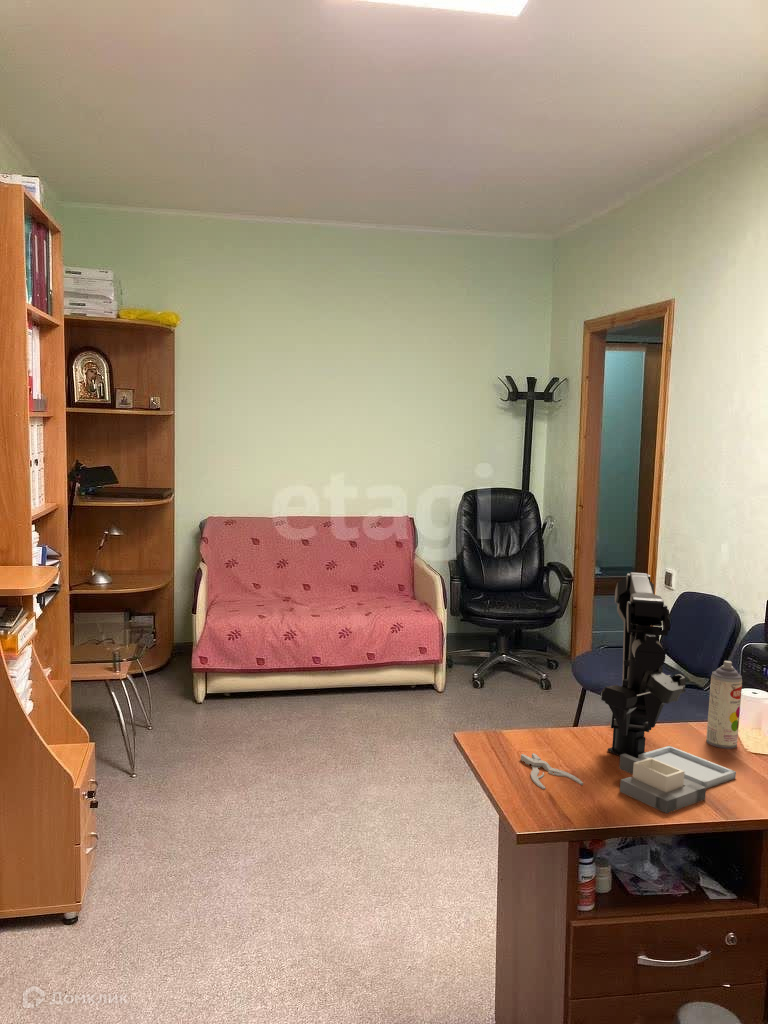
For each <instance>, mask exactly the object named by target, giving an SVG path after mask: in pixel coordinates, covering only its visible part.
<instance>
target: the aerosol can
mask: <svg viewBox="0 0 768 1024" xmlns="http://www.w3.org/2000/svg"><path fill="white" fill-rule="evenodd" d="M742 678H743V676H742V675H741V674H740V673H739V672H738V670H736V668H735V667H734V666H733V662H732V661H731V660H724V661H723V665H721V666H720V667H717V669H716V670H713V671H712V674H711V676H710V689H709V701H708V713H707V726H706V739H705V741H706V743H707V744H709V745H711V746H713V747H715V748H719V749H726V750H732V749H736V748H738V747H737V746H738V737H739V725H740V716H741V715H740V712H741V701H742V700H741V699H742V688H743V679H742Z"/></svg>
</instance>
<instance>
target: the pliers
mask: <svg viewBox="0 0 768 1024" xmlns="http://www.w3.org/2000/svg"><path fill="white" fill-rule="evenodd" d="M520 761H521V762H523V761H524V762H525V763H524V762H523V763H524V764H526V765H527V764H528V765H527V766H530V764H531V767H532V768H531V769H532V770H531V771H530V779H531V781H532V782H533V783H534V784H535V785H536V786H537V787H538V788H540V789H542V790H546V786H545V785H544V784H543V783H542V782H541V781H540V779H543V778H544V776H545V772H544V771H542V774H541V775H540V774H539V773H540V769H541V768H540V767H542V768H543V770H545V771H547V774H550V775H553V776H558V777H564V778H565V777H566V778H567V779H570V780H572V781H574V782H576V783H577V784H579V785H581V786H583V785H584V782H583V781H582V780H581V779H580V778H578V777H577V776H575V775H573V774H571V773H569V772H567V771H565V770H561V769H560V768H559V769H558V768H554V767H552V766H551V765H550V764H549V763H548V762H547V761H546V760H543V759H542V758H541V757H539V755H537V754H536V753H534V752H533V753H531V757H530V756H528V755H526V754H525V753H521V754H520ZM538 768H539V769H538ZM553 772H554V773H553Z"/></svg>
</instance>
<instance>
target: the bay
mask: <svg viewBox="0 0 768 1024" xmlns="http://www.w3.org/2000/svg"><path fill="white" fill-rule="evenodd" d="M619 785H620V786H619V793H622V794H624V795H626V796H628V797H631V798H632V799H634V800H636V801H638V802H641V803H643V804H646V805H647V806H649V807H652V808H654V809H656V810H658V811H660V812H662V813H664V812H665V813H664V814H666V813H667V814H669V812H670V813H672V812H674V810H675V811H678V810H680V809H683V808H686V807H688V805H689V806H691V805H693V804H696V803H697V804H698V802H702V801H705V800H706V794H707V793H706V791H707V789H706V787H704V786H701V785H699V784H697V783H694V782H692V781H690V780H687V779H685V778H684V785H683V787H681V788H678V789H675V790H672V791H670V792H667V793H666V792H663V791H661V790H659V789H657V788H654V787H652V786H650V785H648V784H645V783H643V782H641V781H639V780H637V779H634V778H633V776H629V777H625V778H621V779H620V783H619ZM685 806H686V807H685ZM682 807H683V808H682ZM677 809H678V810H677ZM671 811H672V812H671Z"/></svg>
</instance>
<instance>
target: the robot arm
mask: <svg viewBox="0 0 768 1024" xmlns="http://www.w3.org/2000/svg"><path fill="white" fill-rule="evenodd" d="M614 591H615V592H614V603H615V604H616V605H617V606H616V607H617V608H616V612H617V614H618V615H619V617H620V619H621V621H622V623H623V635H622V636H623V641H622V642H623V643H622V645H623V646H622V674H621V675H622V680H621V683H622V685H618V684H613V685H609V686H605V687H604V688H603V689H602V690H601V695H600V700H601V701H602V702H604V703H605V704H606V705H607V706H608V707H609V709H610V711H609V725H610V728H611V729H612V744H611V746H612V747H608V748H607V752H608V753H611V754H613V755H616V756H619V757H620V755H621V754H628V755H630V756H632V757H635V758H637V759H638V755H639V754H643V753H646V752H647V751H646V750H645V749H646V737H645V732H646V733H650V731H652V729H653V728H655V727H656V724H657V723H658V720H659V717H660V715H661V712H662V710H663V708H664V707H665V704H667V705H668V704H670V703H673V702H678V701H679V698H680V696H681V694H685V693H686V677H685V676H684V675H682V674H681V673H678V674H674V675H673V676H672V675H671V674H668V675H667V674H666V673H664V667H663V665H664V664H665V661H666V652H665V649H664V648H663V646H662V644H661V641H660V636H665V637H667V636H669V633H668V632H670V630H671V619H670V617H671V616H670V610H669V608H668V605H667V604H666V603H665V601H664V599H663V598H662V596H660V595H657V594H655V584H654V583H653V582H652V581H651V574H648V573H646V572H645V573H644V572H632V571H630V573H629V572H627V574H626V576H625V577H624V578H622V579H620V580H618V581H617V582H616V586H615V590H614Z"/></svg>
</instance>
